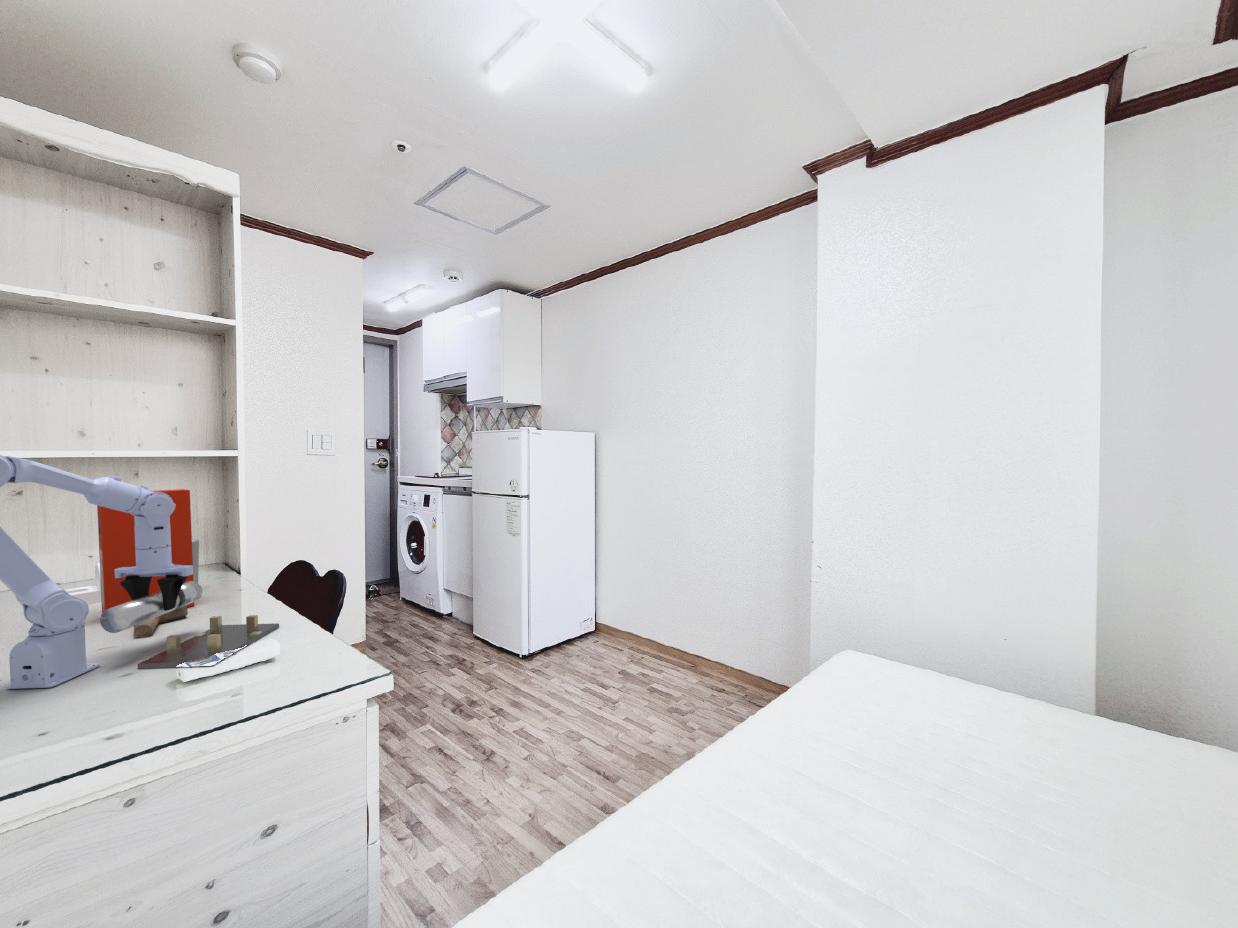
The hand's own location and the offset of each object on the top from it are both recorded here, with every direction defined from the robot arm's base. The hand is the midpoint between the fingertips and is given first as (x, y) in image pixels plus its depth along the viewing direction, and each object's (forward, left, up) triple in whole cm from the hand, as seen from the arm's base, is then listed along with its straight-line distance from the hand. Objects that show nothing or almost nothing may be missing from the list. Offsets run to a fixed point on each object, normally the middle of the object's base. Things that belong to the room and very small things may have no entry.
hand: (156, 609), depth 111 cm
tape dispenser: (+42, +48, -9) cm, 64 cm away
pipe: (+15, +11, -9) cm, 20 cm away
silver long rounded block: (0, 0, -1) cm, 1 cm away
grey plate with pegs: (0, -12, -8) cm, 15 cm away
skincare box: (+45, +30, -9) cm, 55 cm away
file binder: (+27, +24, -9) cm, 37 cm away
